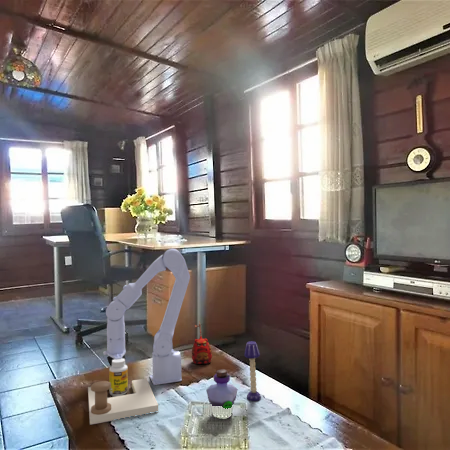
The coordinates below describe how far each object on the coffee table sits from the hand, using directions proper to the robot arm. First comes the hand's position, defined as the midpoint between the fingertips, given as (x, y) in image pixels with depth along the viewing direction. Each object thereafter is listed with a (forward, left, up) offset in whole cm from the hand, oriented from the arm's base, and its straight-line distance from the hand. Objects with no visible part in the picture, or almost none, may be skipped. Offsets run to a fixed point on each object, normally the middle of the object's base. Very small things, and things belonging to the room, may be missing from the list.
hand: (116, 378), depth 127 cm
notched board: (0, +15, -1) cm, 15 cm away
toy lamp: (-37, +27, -2) cm, 46 cm away
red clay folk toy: (-32, -8, -2) cm, 33 cm away
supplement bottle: (0, +8, -2) cm, 8 cm away
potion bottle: (-25, +33, -2) cm, 42 cm away
